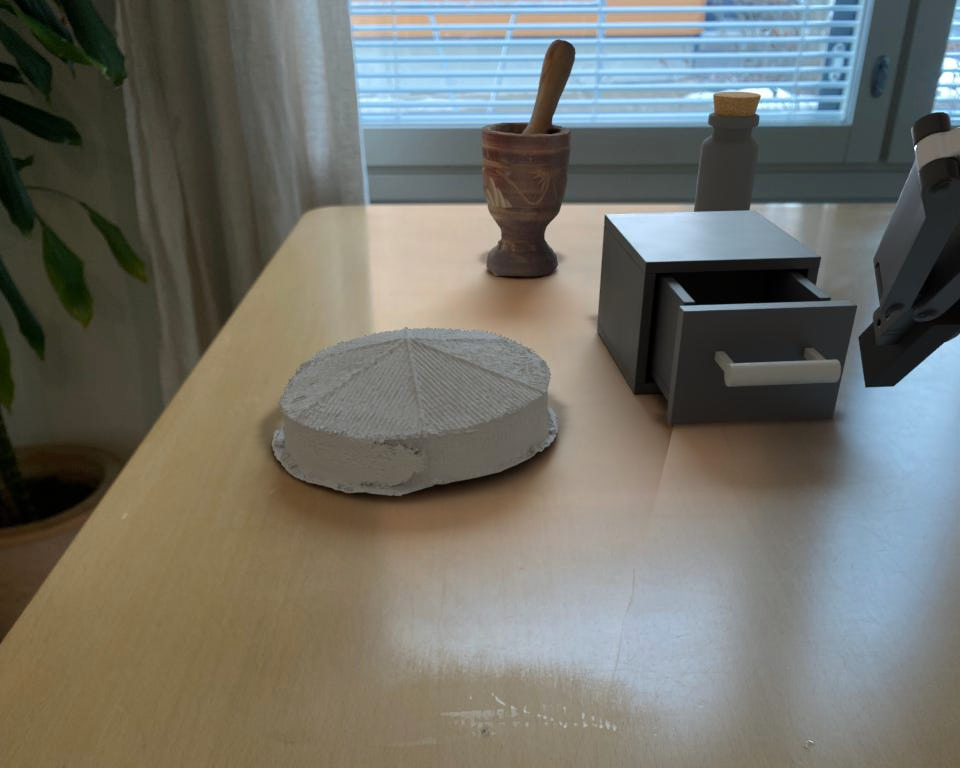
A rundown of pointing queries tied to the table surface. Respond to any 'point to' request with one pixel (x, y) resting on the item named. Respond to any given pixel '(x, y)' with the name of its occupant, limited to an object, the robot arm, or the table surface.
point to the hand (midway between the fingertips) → (876, 361)
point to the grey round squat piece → (414, 411)
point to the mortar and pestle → (528, 174)
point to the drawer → (747, 346)
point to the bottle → (729, 154)
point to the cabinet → (678, 269)
